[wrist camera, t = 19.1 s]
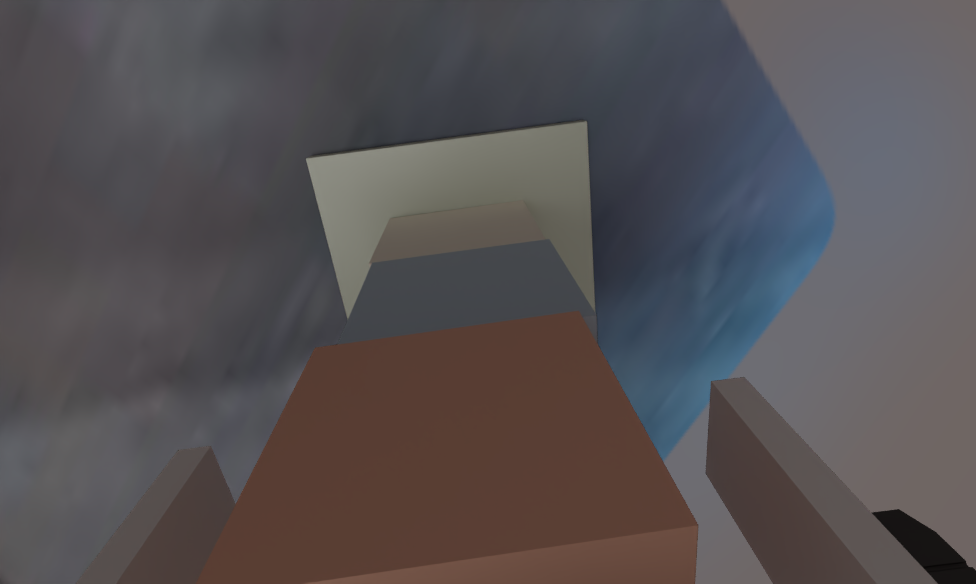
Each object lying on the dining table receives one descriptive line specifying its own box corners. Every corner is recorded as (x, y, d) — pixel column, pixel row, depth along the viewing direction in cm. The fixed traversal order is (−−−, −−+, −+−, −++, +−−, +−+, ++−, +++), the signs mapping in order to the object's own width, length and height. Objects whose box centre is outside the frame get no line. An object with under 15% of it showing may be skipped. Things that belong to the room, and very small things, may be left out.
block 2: (560, 388, 19) (603, 510, 14) (404, 409, 19) (386, 542, 14) (549, 239, 17) (596, 315, 12) (372, 262, 17) (334, 350, 11)
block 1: (534, 319, 25) (557, 388, 19) (414, 336, 25) (402, 410, 19) (522, 200, 23) (545, 239, 17) (389, 218, 23) (368, 263, 17)
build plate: (593, 356, 27) (597, 364, 26) (369, 385, 27) (367, 394, 26) (582, 119, 22) (586, 121, 21) (311, 155, 22) (305, 158, 21)
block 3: (590, 508, 14) (682, 793, 8) (371, 539, 14) (317, 850, 8) (578, 310, 11) (698, 525, 6) (315, 348, 11) (186, 601, 6)
